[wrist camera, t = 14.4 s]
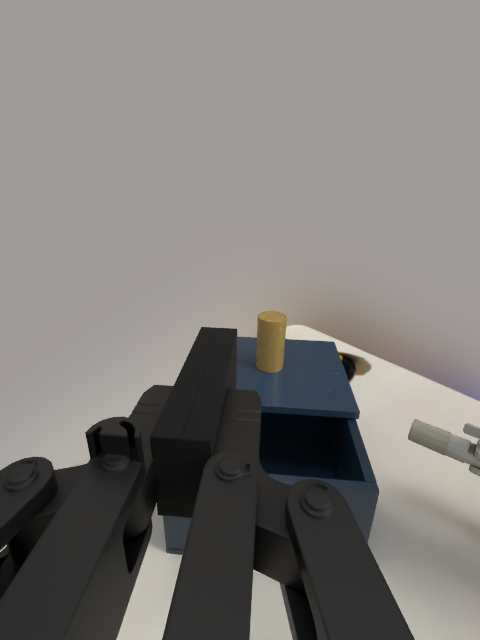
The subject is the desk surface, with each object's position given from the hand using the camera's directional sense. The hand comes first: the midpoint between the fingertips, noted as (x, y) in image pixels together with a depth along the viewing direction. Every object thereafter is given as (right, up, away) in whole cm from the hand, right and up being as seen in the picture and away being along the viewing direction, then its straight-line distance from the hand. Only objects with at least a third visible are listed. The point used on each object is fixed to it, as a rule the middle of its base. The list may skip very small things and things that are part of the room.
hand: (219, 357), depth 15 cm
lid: (+4, -4, +24) cm, 25 cm away
